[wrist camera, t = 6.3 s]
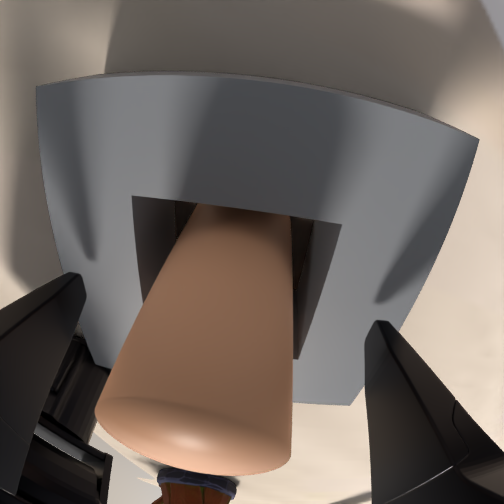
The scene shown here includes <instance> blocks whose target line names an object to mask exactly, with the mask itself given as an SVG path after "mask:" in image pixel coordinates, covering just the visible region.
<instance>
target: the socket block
mask: <svg viewBox="0 0 504 504" xmlns="http://www.w3.org/2000/svg"><path fill="white" fill-rule="evenodd" d="M36 107H37V126H38V139H39V150H40V159H41V167H42V174H43V181H44V188H45V194H46V200H47V205H48V211H49V216H50V221H51V225H52V230H53V235H54V239H55V243H56V247H57V251H58V255H59V259H60V263H61V267H62V270H63V274H66V273H68V272H75V273H79V274H81V275H82V278H83V281H84V285H85V289H86V293H87V298H86V302H85V305H84V307H83V310H82V313H81V315H80V318H79V324H80V326H81V329H82V332H83V334H84V337H85V340H86V342H87V345H88V347H89V350H90V352H91V355H92V357H93V360H94V362H95V364H96V365H100V366H103V367H106V368H110V369H112V368H113V366H114V364H115V362H116V359H117V357H118V355H119V353H120V351H121V349H122V347H123V344H124V342H125V340H126V338H127V336H128V334H129V332H130V330H131V328H132V326H133V324H134V322H135V319H136V317H137V315H138V313H139V311H140V309H141V307H142V305H143V303H144V301H145V299H146V298H147V296H148V294H149V292H150V290H151V288H152V286H153V284H154V282H155V280H156V278H157V276H158V274H159V272H160V271H161V269H162V267H163V265H164V263H165V261H166V259H167V257H168V256H169V254H170V252H171V250H172V248H173V246H174V245H175V243H176V240H175V200H177V201H186V202H194V203H202V204H210V205H217V206H225V207H232V208H240V209H247V210H254V211H261V212H268V213H274V214H281V215H288V216H294V217H300V218H307V219H313V220H314V223H313V228H312V232H311V236H310V240H309V244H308V248H307V252H306V256H305V260H304V264H303V268H302V272H301V276H300V280H299V284H298V288H297V290H293V398H292V402H294V403H307V404H323V405H348V406H350V405H351V403H352V402H353V401H354V399H355V398H356V397H357V395H358V394H359V392H360V391H361V389H362V388H363V387H364V385H365V364H364V342H365V338H366V336H367V334H368V332H369V330H370V328H371V326H372V324H373V323H374V321H375V320H386V321H389V322H390V323H391V324H392V325H393V326H394V328H395V329H396V330H397V331H398V332H399V330H400V328H401V326H402V325H403V323H404V321H405V319H406V317H407V316H408V314H409V312H410V310H411V308H412V307H413V305H414V303H415V301H416V299H417V297H418V295H419V293H420V291H421V289H422V287H423V285H424V283H425V281H426V279H427V277H428V275H429V273H430V271H431V269H432V267H433V265H434V263H435V260H436V258H437V256H438V254H439V252H440V249H441V247H442V245H443V242H444V240H445V238H446V235H447V233H448V231H449V228H450V226H451V223H452V221H453V218H454V216H455V213H456V210H457V208H458V205H459V202H460V200H461V197H462V194H463V191H464V188H465V186H466V183H467V180H468V177H469V173H470V170H471V167H472V164H473V161H474V157H475V154H476V150H477V147H478V143H479V140H480V139H478V138H476V137H474V136H472V135H470V134H468V133H466V132H464V131H462V130H459V129H457V128H455V127H453V126H451V125H449V124H446V123H444V122H442V121H440V120H437V119H435V118H433V117H430V116H428V115H426V114H423V113H420V112H417V111H414V110H411V109H408V108H405V107H402V106H399V105H395V104H392V103H388V102H385V101H381V100H378V99H374V98H370V97H367V96H363V95H359V94H355V93H350V92H346V91H342V90H337V89H332V88H328V87H323V86H318V85H312V84H307V83H301V82H295V81H288V80H282V79H275V78H267V77H259V76H250V75H239V74H228V73H213V72H189V71H146V72H123V73H109V74H99V75H93V76H86V77H80V78H74V79H69V80H64V81H59V82H54V83H49V84H45V85H40V86H36Z"/></svg>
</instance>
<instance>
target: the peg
mask: <svg viewBox="0 0 504 504" xmlns="http://www.w3.org/2000/svg"><path fill="white" fill-rule="evenodd" d="M292 398H293V277H292V236H291V219H290V216H288V215H281V214H274V213H268V212H261V211H254V210H247V209H240V208H232V207H225V206H217V205H210V204H202V203H198V204H197V206H196V207H195V209H194V211H193V213H192V214H191V216H190V218H189V220H188V221H187V223H186V225H185V227H184V228H183V230H182V232H181V234H180V236H179V237H178V239H177V241H176V243H175V245H174V246H173V248H172V250H171V252H170V254H169V256H168V257H167V259H166V261H165V263H164V265H163V267H162V269H161V271H160V272H159V274H158V276H157V278H156V280H155V282H154V284H153V286H152V288H151V290H150V292H149V294H148V296H147V298H146V299H145V301H144V303H143V305H142V307H141V309H140V311H139V313H138V315H137V317H136V319H135V322H134V324H133V326H132V328H131V330H130V332H129V334H128V336H127V338H126V340H125V342H124V344H123V347H122V349H121V351H120V353H119V355H118V357H117V359H116V362H115V364H114V366H113V368H112V370H111V373H110V375H109V377H108V379H107V382H106V384H105V386H104V389H103V391H102V393H101V395H100V398H99V400H98V402H97V405H96V407H95V416H96V418H97V420H98V422H99V424H100V425H101V426H102V427H103V428H104V430H105V431H106V432H107V433H109V434H110V435H111V436H112V437H113V438H115V439H116V440H117V441H119V442H120V443H122V444H123V445H125V446H126V447H128V448H130V449H132V450H133V451H135V452H137V453H139V454H141V455H143V456H146V457H148V458H150V459H153V460H155V461H158V462H161V463H163V464H166V465H170V466H173V467H176V468H180V469H184V470H188V471H193V472H199V473H205V474H213V475H227V476H241V475H253V474H260V473H265V472H269V471H272V470H275V469H277V468H279V467H281V466H283V465H284V464H286V463H287V462H288V461H289V459H290V457H291V437H292Z"/></svg>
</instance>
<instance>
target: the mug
mask: <svg viewBox="0 0 504 504" xmlns="http://www.w3.org/2000/svg"><path fill="white" fill-rule="evenodd" d="M157 482H158V483H159V486H160V487H161V490H162V496H161V497H160V498H158V499H157V500H155V501H154V502H153V503H152V504H229V502H230V500H232V499H234V497H235V495H236V490H237V489H236V485H235V484H234V483H233V482H231V481H230V480H228V479H227V478H223V477H219V476H215V475H212V474H205V473H199V472H193V471H188V470H184V469H177V468H167V469H162V470H160V471H159V474H158V476H157Z"/></svg>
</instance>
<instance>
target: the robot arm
mask: <svg viewBox="0 0 504 504" xmlns="http://www.w3.org/2000/svg"><path fill="white" fill-rule="evenodd" d="M86 298H87V293H86V289H85V285H84V281H83V278H82V275H81V274H79V273H75V272H68V273H66V274H64V275H62V276H60V277H58V278H56V279H54V280H52V281H51V282H49V283H47V284H45V285H43V286H41V287H40V288H38V289H36V290H34V291H32V292H31V293H29V294H27V295H25V296H23V297H22V298H20V299H18V300H16V301H15V302H13V303H11V304H9V305H8V306H6V307H4V308H2V309H1V310H0V504H107V498H108V490H109V481H110V474H111V467H112V460H113V457H112V456H111V455H109V454H108V453H103V452H101V451H99V450H97V449H96V448H94V447H92V446H90V445H88V444H89V441H90V439H91V436H92V433H93V431H94V428H95V426H96V423H97V421H98V420H97V418H96V416H95V407H96V405H97V402H98V400H99V398H100V395H101V393H102V391H103V389H104V386H105V384H106V382H107V379H108V377H109V375H110V373H111V370H112V369H110V368H106V367H103V366H100V365H96V364H95V362H94V360H93V357H92V355H91V352H90V350H89V347H88V345H87V342H86V340H84V339H81V338H78V337H75V336H73V335H74V332H75V329H76V326H77V324H78V321H79V318H80V315H81V313H82V310H83V307H84V305H85V302H86ZM364 364H365V398H366V408H367V419H368V431H369V445H370V462H371V488H372V504H504V452H503V451H502V450H501V449H500V448H499V447H498V445H497V444H496V443H495V442H494V441H493V440H492V439H491V438H490V437H489V436H488V435H487V434H486V433H485V432H484V431H483V430H482V428H481V427H480V426H479V425H478V424H477V423H476V422H475V421H474V420H473V419H472V417H471V416H470V415H469V414H468V413H467V412H466V410H465V409H464V408H463V407H462V406H461V404H460V403H459V402H458V401H457V400H455V397H454V396H453V395H452V393H451V392H450V391H449V390H448V389H447V387H446V386H445V385H444V384H443V383H442V381H441V380H440V379H439V378H438V377H437V376H436V374H435V373H434V372H433V371H432V370H431V368H430V367H429V366H428V365H427V364H426V363H425V362H424V360H423V359H422V358H421V357H420V356H419V355H418V353H417V352H416V351H415V350H414V349H413V348H412V347H411V345H410V344H409V343H408V342H407V341H406V340H405V339H404V338H403V336H402V335H401V334H400V333H399V332H398V331H397V330H396V329H395V328H394V326H393V325H392V324H391V323H390V322H389V321H386V320H375V321H374V323H373V324H372V326H371V328H370V330H369V332H368V334H367V336H366V338H365V342H364ZM34 433H35V434H34ZM36 434H37V435H38V436H37V435H36ZM39 436H40V437H41V438H40V437H39ZM42 438H43V439H42ZM45 440H46V441H45ZM47 441H48V442H49V443H48V442H47ZM50 443H51V444H50ZM53 445H54V446H53ZM55 446H56V447H57V448H56V447H55ZM58 448H59V449H58ZM60 449H61V450H62V451H61V450H60ZM63 451H64V452H63ZM65 452H66V453H65ZM67 453H68V454H69V455H68V454H67ZM70 455H71V456H70ZM72 456H73V457H72ZM74 457H75V458H74ZM76 458H77V459H78V460H77V459H76ZM79 460H80V461H79Z"/></svg>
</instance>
